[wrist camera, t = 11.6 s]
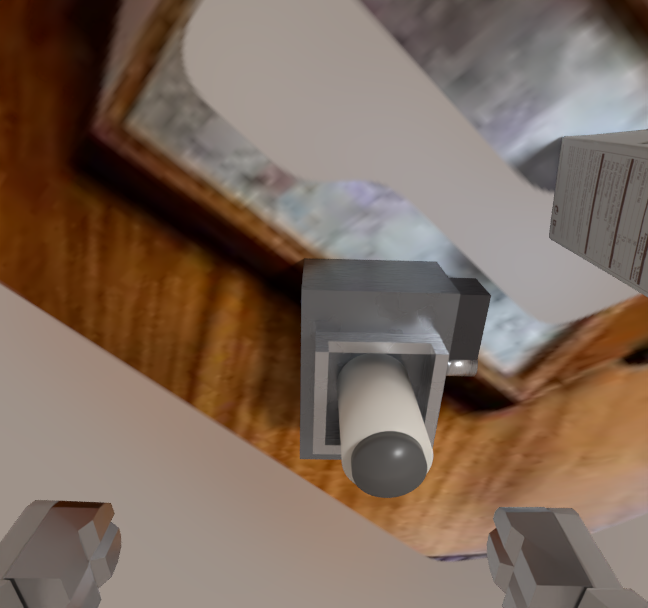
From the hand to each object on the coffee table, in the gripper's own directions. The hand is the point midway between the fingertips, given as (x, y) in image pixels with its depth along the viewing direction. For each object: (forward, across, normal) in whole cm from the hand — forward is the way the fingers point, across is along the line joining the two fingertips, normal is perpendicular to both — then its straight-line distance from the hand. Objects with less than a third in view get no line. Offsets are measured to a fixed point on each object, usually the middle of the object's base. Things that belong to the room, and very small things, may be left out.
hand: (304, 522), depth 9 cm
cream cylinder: (+18, -4, +10) cm, 21 cm away
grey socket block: (+24, -5, +10) cm, 27 cm away
